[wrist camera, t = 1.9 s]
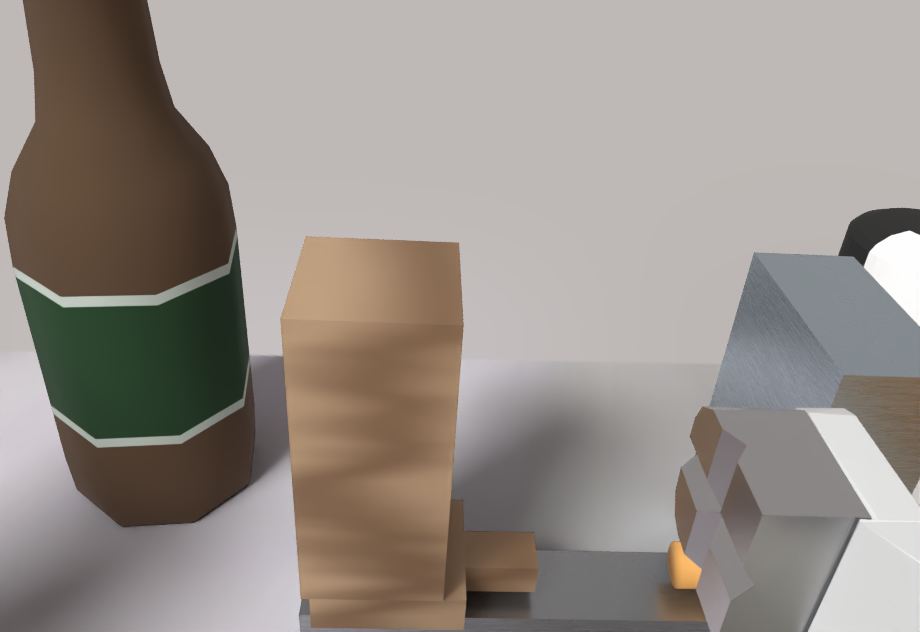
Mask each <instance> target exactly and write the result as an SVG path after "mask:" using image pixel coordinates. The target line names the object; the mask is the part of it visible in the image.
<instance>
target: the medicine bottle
mask: <svg viewBox="0 0 920 632" xmlns="http://www.w3.org/2000/svg"><path fill="white" fill-rule="evenodd" d="M838 256H849V257H854V258H855V259H856V260H857V261H858V262H859V263H860V264H861V265H862V266H863V267H864V268H865V269H866V270H867V271H868V272H869V273H870V274H871V276H872V277H873V278H874V279H875V280H876V281H877V282H878V283H879V284H880V285H881V286H882V287H883V288H884V289H885V290H886V291H887V292H888V293H889V295H890V296H891V297H892V298H893V299H894V300H895V301H896V302H897V303H898V304H899V305H900V306H901V307H902V308H903V309H904V310H905V311H906V312H907V313H908V315H909V316H910V317H911V318H912V319H913V320H914V321H915V322H916V323H917V324H918V325H919V326H920V210H919V209H911V208H890V209H878V210H872V211H869V212H866V213H864V214H862V215H860V216H859V217H857V218H855V219H854V220H852V221H851V222H850V224H849V227H848V229H847V232H846V235H845V238H844V241H843V244H842V247H841V249H840V252H839V255H838ZM912 497H913V498H914V499H915V501H916V502H917V504H918V505H919V507H920V479H919V481H918V483H917V485H916V487H915V489H914V491H913V493H912Z"/></svg>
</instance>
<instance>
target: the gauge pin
mask: <svg viewBox="0 0 920 632" xmlns="http://www.w3.org/2000/svg"><path fill="white" fill-rule="evenodd" d="M701 571H702V569H701V568H700V567H698V566H697V565H696V564H695V563H694V562H693V561H692V560H690V559H689V558H688V557H687V556H686V555H685V554H684V552H683V549H682V545H681V542H680V541H673V542H671V544H670V546H669V550H668V572H669V577H670V580H671V583H672V585H673V587H674V588H676V589H696V587H697V584H698V581H699V577H700V574H701Z"/></svg>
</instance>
